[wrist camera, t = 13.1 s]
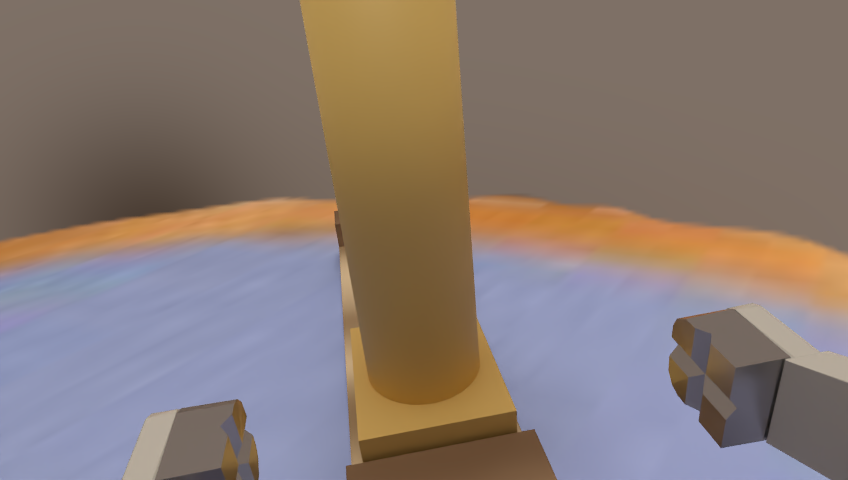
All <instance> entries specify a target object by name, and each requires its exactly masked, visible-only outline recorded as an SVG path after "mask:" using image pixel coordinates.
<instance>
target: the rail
mask: <svg viewBox="0 0 848 480" xmlns="http://www.w3.org/2000/svg"><path fill="white" fill-rule="evenodd" d="M334 212H335V227H336V232H337V238H338V243H339V251H340V269H341V286H342V304H343V322H344V339H345V357H346V375H347V392H348V410H349V428H350V446H351V463H352V465H349V466H346V475H347V480H557V479H556V476H555V474H554V472H553V470H552V467H551V465H550V463H549V461H548V459H547V456H546V454H545V452H544V450H543V447H542V445H541V443H540V441H539V439H538V436H537V434H536V432H535V430H534V429H532V430H527V431H521V429H520V426H519V424H518V422H517V433H512V434H507V435H502V436H497V437H492V438H487V439H481V440H476V441H471V442H466V443H461V444H456V445H451V446H446V447H441V448H435V449H430V450H425V451H420V452H415V453H410V454H405V455H400V456H395V457H389V458H384V459H379V460H374V461H369V462H364V463H363V461H362V456H361V451H360V446H359V441H358V428H357V414H356V401H355V387H354V374H353V360H352V346H351V333H350V329H351V328H357V327H359V323H358V318H357V312H356V307H355V301H354V296H353V290H352V285H351V279H350V274H349V268H348V263H347V257H346V252H345V246H344V241H343V235H342V230H341V224H340V219H339V213H338V211H334Z"/></svg>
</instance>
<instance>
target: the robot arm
mask: <svg viewBox="0 0 848 480" xmlns="http://www.w3.org/2000/svg"><path fill="white" fill-rule="evenodd" d="M672 338H673V339H674V340H675V341H676V342H677V344H678V346H677V347H676V348H675V349H674V351H673V352H672V353H671V355H670V357H669V374H670V378H671V382H672V385H673V387H674V389H675V391H676V393H677V395H678V396H679V397H680V399H681V400H682V401H683V402H684V404H686V405H688V406H690V407H692V408H694V409H696V410H699V411H700V414H699V422H700V423H701V424H702V426H703V427H704V428H705V429H706V431H707V432H708V433H709V434H710V435H711V437H712V438H713V439H714V440H715V441H716V443H717V444H718V445H719V446H720V447H721V448H724V447H730V446H736V445H741V444H747V443H753V442H758V441H764V440H767V441H766V443H768V444H770V445H772V446H773V447H775V448H777V449H778V450H780V451H782V452H784V453H785V454H787V455H789V456H791V457H792V458H794V459H796V460H798V461H799V462H801V463H803V464H805V465H806V466H808V467H810V468H812V469H813V470H815V471H817V472H818V473H820V474H822V475H824V476H825V477H827V478H829V479H831V480H848V357H845V356H842V355H839V354H836V353H833V352H830V351H826V352H821V353H820V352H819V351H818V350H817V349H815V348H814V347H813V346H812V345H810V344H809V343H808V342H806V341H805V340H804V339H803V338H801V337H800V336H799V335H797V334H796V333H795V332H794V331H792V330H791V329H790V328H788V327H787V326H786V325H785V324H783V323H782V322H781V321H780V320H778V319H777V318H776V317H774V316H773V315H772V314H771V313H769V312H768V311H767V310H765V309H764V308H763V307H762V306H760V305H756V304H753V303H751V304H746V305H742V306H737V307H732V308H727V309H726V310H720V311H715V312H710V313H705V314H699V315H694V316H689V317H684V318H678V319H677V320H676V322H675V323H674V325H673V331H672ZM246 417H247V416H246V413H245V410H244V408H243V405H242V402H241V401H239V400H238V399H236V400H230V401H224V402H218V403H212V404H205V405H199V406H193V407H187V408H181V409H177V410H171V411H165V412H159V413H153V414H151V415H150V416H149V417H147V418H146V420H145V422H144V424H143V427H142V429H141V432H140V434H139V437H138V439H137V442H136V445H135V447H134V450H133V452H132V455H131V457H130V460H129V462H128V465H127V467H126V470H125V472H124V475H123V478H122V480H258V478H259V467H258V455H257V449H256V444H255V441H254V438H253V435H252V434H250V433H249V432H247V431H246V430H244V429H245V423H246Z"/></svg>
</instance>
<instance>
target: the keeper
mask: <svg viewBox="0 0 848 480" xmlns="http://www.w3.org/2000/svg"><path fill="white" fill-rule="evenodd" d="M300 4H301V9H302V15H303V21H304V26H305V32H306V37H307V43H308V48H309V54H310V59H311V65H312V70H313V75H314V81H315V87H316V92H317V98H318V103H319V108H320V114H321V119H322V125H323V131H324V136H325V142H326V147H327V153H328V158H329V164H330V169H331V175H332V180H333V186H334V191H335V197H336V202H337V208H338V213H339V219H340V224H341V230H342V235H343V241H344V246H345V252H346V257H347V263H348V268H349V274H350V279H351V285H352V290H353V296H354V301H355V307H356V312H357V318H358V323H359V327H357V328H351V329H350V333H351V346H352V360H353V374H354V387H355V401H356V414H357V428H358V441H359V446H360V451H361V456H362V461H363V463H364V462H369V461H374V460H379V459H384V458H389V457H395V456H400V455H405V454H410V453H415V452H420V451H425V450H430V449H435V448H441V447H446V446H451V445H456V444H461V443H466V442H471V441H476V440H481V439H487V438H492V437H497V436H502V435H507V434H512V433H517V411H516V408H515V406H514V404H513V401H512V399H511V397H510V394H509V392H508V390H507V387H506V385H505V383H504V380H503V378H502V376H501V373H500V371H499V369H498V366H497V364H496V362H495V359H494V357H493V355H492V352H491V350H490V348H489V345H488V343H487V341H486V338H485V336H484V334H483V331H482V329H481V327H480V324H479V322H478V320H477V316H476V301H475V287H474V272H473V257H472V242H471V227H470V212H469V197H468V183H467V168H466V153H465V138H464V124H463V109H462V94H461V79H460V64H459V49H458V34H457V19H456V4H455V0H300Z"/></svg>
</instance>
